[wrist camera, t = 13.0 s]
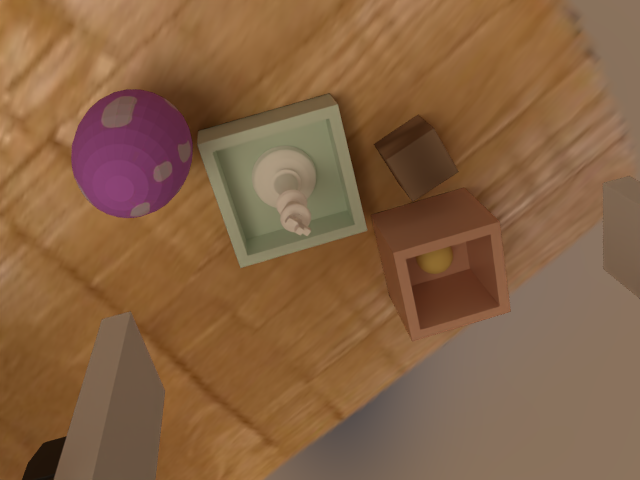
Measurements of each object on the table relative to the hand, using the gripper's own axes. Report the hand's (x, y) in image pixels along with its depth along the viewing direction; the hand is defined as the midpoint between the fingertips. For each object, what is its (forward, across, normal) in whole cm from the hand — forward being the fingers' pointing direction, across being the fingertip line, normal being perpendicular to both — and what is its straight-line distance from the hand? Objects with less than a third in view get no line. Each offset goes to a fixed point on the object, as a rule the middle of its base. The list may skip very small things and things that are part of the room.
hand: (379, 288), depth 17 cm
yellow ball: (+30, +9, -16) cm, 35 cm away
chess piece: (+30, -1, -7) cm, 31 cm away
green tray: (+31, -1, -7) cm, 32 cm away
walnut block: (+31, +9, -8) cm, 33 cm away
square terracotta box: (+31, +9, -16) cm, 36 cm away
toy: (+31, -10, 0) cm, 32 cm away
